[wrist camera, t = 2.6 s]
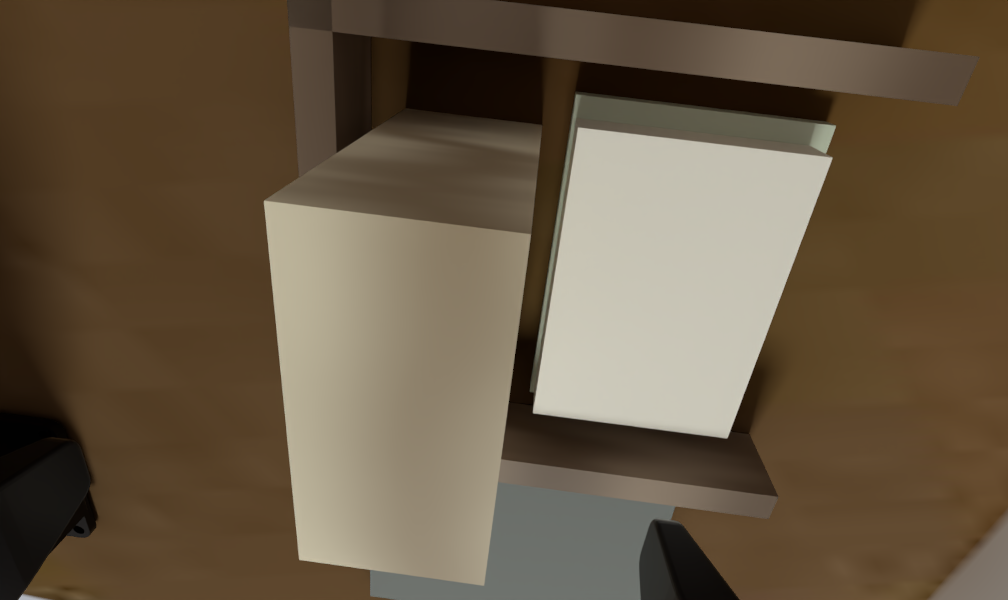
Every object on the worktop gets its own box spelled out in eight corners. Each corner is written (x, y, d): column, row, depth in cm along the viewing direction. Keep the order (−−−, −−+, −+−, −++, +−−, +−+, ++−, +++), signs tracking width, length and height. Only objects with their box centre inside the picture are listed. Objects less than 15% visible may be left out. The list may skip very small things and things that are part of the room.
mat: (374, 584, 26) (370, 595, 26) (373, 435, 22) (368, 446, 22) (630, 620, 26) (631, 633, 25) (678, 476, 22) (681, 488, 21)
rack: (347, 402, 21) (317, 457, 19) (333, -18, 15) (285, -25, 12) (741, 454, 21) (768, 518, 18) (901, 48, 15) (979, 56, 12)
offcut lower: (531, 369, 21) (530, 392, 20) (574, 87, 16) (575, 94, 15) (717, 393, 21) (728, 417, 20) (814, 116, 16) (836, 125, 15)
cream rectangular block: (400, 341, 20) (299, 560, 12) (406, 108, 16) (263, 200, 8) (511, 355, 20) (483, 585, 12) (542, 124, 16) (531, 234, 8)
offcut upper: (534, 387, 20) (532, 413, 18) (576, 117, 15) (578, 127, 14) (716, 411, 20) (727, 438, 18) (809, 145, 15) (832, 157, 14)
